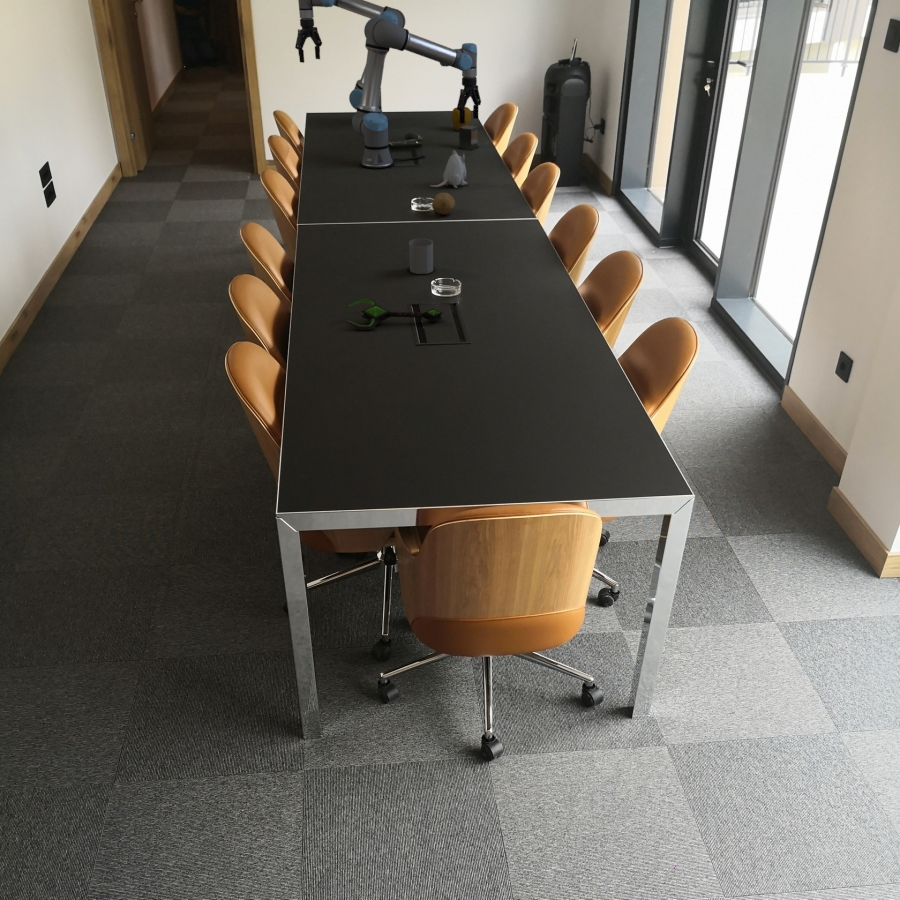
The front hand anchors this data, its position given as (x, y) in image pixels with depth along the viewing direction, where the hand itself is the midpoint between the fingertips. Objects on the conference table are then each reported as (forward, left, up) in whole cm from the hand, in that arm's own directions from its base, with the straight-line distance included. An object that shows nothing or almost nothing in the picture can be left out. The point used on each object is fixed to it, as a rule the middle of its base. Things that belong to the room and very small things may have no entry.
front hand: (469, 121), depth 450 cm
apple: (-31, -25, -14) cm, 42 cm away
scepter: (+198, +103, -14) cm, 224 cm away
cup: (+157, +83, -14) cm, 179 cm away
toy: (+68, +33, -14) cm, 77 cm away
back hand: (+6, -103, +21) cm, 105 cm away
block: (0, 0, -14) cm, 14 cm away
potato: (+100, +53, -14) cm, 114 cm away
